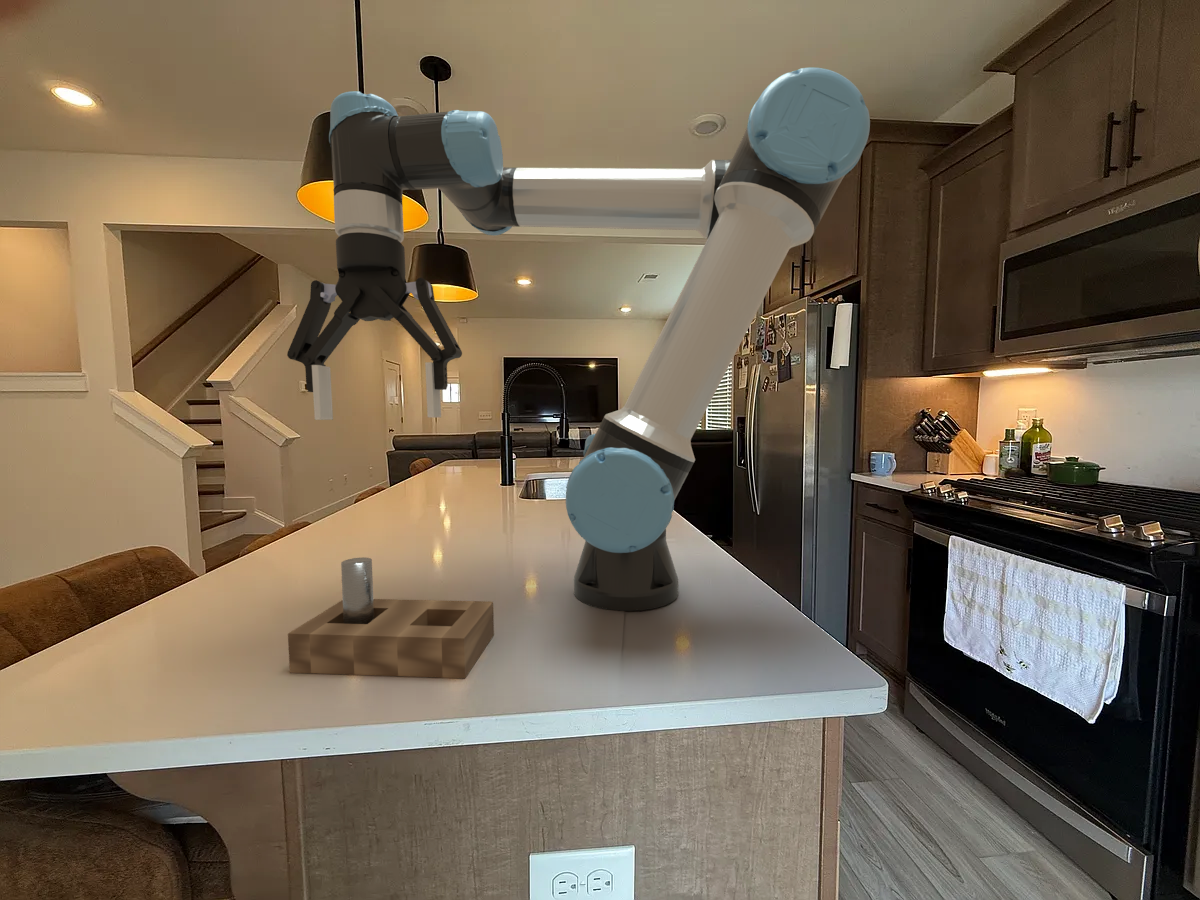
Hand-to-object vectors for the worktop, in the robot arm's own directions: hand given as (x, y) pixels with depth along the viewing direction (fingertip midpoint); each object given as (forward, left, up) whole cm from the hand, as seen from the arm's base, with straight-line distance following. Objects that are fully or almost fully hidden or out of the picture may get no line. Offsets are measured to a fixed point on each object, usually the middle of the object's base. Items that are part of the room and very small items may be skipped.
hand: (379, 418), depth 63 cm
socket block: (-6, +8, -25) cm, 27 cm away
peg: (-1, +8, -25) cm, 27 cm away
